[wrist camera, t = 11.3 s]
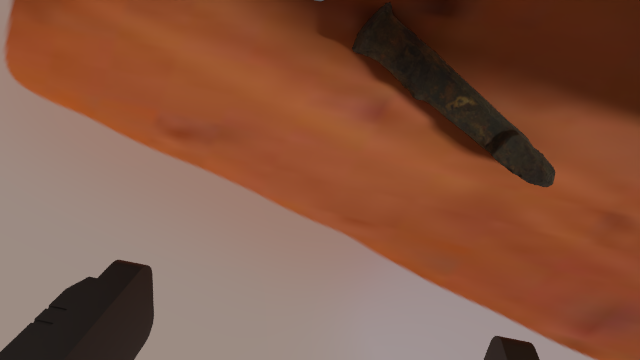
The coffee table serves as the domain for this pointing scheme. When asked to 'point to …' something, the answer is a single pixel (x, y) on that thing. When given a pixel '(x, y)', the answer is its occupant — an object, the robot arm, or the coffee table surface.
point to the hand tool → (450, 95)
